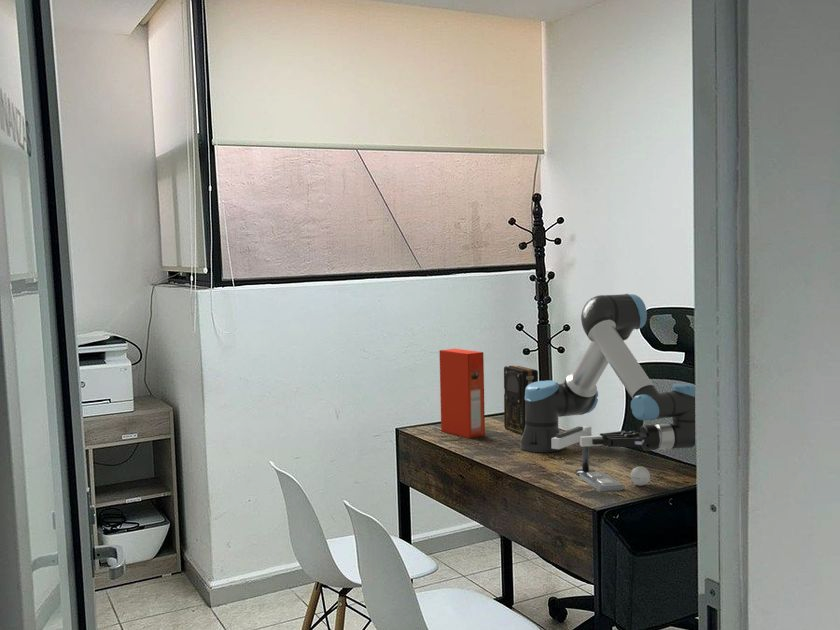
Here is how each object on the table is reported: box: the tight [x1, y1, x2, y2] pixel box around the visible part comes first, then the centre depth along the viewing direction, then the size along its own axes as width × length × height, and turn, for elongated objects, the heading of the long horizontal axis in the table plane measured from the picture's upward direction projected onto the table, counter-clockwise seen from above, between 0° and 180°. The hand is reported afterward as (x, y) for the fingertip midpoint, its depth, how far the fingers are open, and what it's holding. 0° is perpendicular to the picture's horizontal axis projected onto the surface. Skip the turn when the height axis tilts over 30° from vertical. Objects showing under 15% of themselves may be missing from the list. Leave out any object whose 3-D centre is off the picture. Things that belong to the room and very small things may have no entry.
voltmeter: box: [503, 365, 539, 436], centre depth 335 cm, size 16×9×25 cm, turn 23°
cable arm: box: [551, 425, 592, 449], centre depth 262 cm, size 21×4×4 cm, turn 141°
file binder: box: [439, 348, 486, 439], centre depth 332 cm, size 8×17×32 cm, turn 36°
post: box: [575, 446, 596, 477], centre depth 269 cm, size 6×6×11 cm
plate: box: [578, 470, 624, 492], centre depth 258 cm, size 16×7×2 cm, turn 11°
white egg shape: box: [629, 466, 651, 487], centre depth 254 cm, size 8×6×6 cm
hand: (580, 441), depth 255 cm, fingers closed
